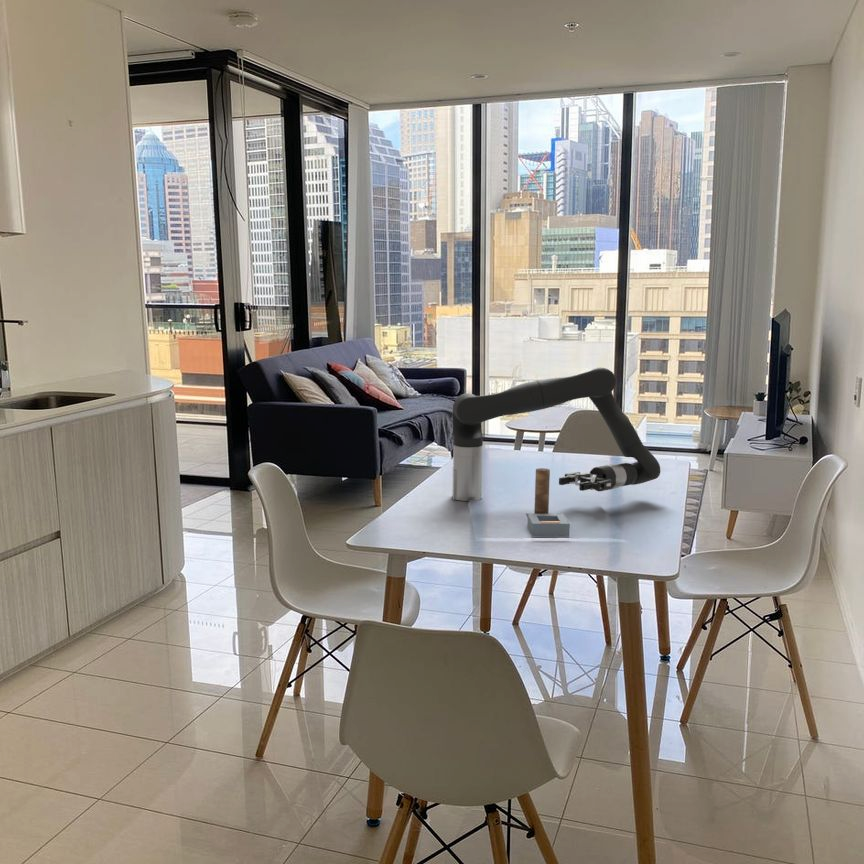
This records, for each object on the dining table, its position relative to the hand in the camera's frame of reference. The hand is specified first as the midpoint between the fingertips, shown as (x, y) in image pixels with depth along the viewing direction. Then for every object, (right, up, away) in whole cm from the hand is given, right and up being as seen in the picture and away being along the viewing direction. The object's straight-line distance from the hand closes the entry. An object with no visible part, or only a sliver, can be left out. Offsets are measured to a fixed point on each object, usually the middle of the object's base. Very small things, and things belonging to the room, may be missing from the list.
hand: (569, 484), depth 254 cm
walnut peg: (-9, -9, -5) cm, 14 cm away
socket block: (-9, -12, -18) cm, 23 cm away
